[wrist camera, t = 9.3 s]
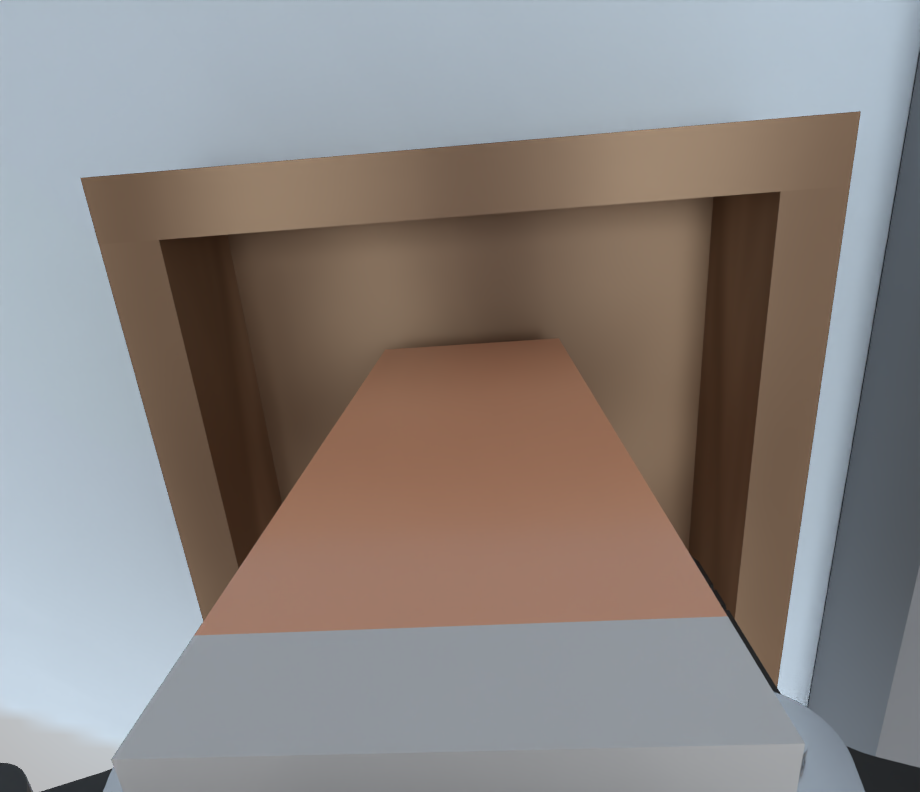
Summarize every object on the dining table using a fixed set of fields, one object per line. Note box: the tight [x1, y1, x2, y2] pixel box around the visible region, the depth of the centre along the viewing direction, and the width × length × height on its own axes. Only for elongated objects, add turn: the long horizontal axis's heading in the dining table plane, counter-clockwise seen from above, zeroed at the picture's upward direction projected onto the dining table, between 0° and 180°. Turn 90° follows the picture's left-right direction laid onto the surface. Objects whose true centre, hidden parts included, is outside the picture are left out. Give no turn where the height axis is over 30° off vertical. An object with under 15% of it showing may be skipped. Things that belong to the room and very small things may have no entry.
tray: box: [81, 111, 861, 687], centre depth 14 cm, size 14×14×4 cm
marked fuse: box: [111, 338, 805, 792], centre depth 9 cm, size 6×4×10 cm, turn 4°
